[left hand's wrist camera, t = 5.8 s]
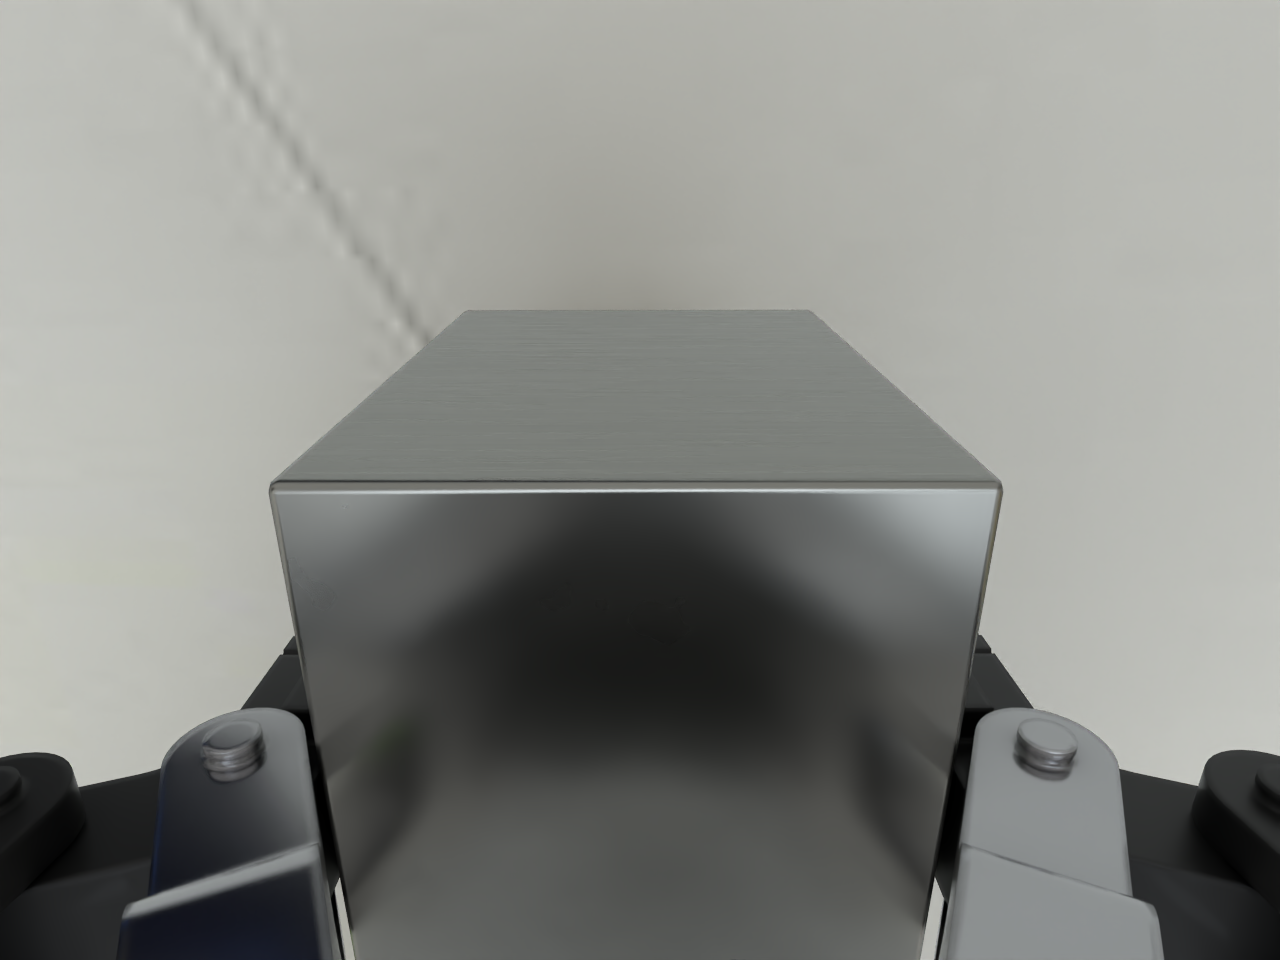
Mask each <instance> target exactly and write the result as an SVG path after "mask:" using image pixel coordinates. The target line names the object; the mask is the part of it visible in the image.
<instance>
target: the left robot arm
mask: <svg viewBox="0 0 1280 960" xmlns="http://www.w3.org/2000/svg"><path fill="white" fill-rule="evenodd" d="M339 877H340V875H339V869H338V864H337V858H336V853H335V848H334V842H333V837H332V831H331V826H330V821H329V815H328V810H327V805H326V799H325V794H324V788H323V783H322V778H321V772H320V767H319V761H318V756H317V751H316V745H315V740H314V734H313V729H312V724H311V718H310V713H309V707H308V702H307V697H306V691H305V686H304V680H303V675H302V670H301V664H300V659H299V654H298V648H297V643H296V637H295V636H293V638H292V639H291V640H290V642H289V643H288V645H287V646H286V647H285V649H284V653H283V655H280V656H279V657H278V658H277V660H276V661H275V663H274V664H273V665H272V667H271V668H270V669H269V671H268V672H267V674H266V675H265V676H264V678H263V679H262V680H261V682H260V683H259V685H258V686H257V687H256V689H255V690H254V692H253V693H252V694H251V696H250V697H249V698H248V700H247V701H246V703H245V704H244V705H243V707H242V708H241V710H238V711H234V712H230V713H227V714H224V715H221V716H218V717H216V718H213V719H211V720H209V721H206V722H204V723H202V724H200V725H199V726H197V727H195V728H194V729H192V730H190V731H189V732H188V733H186V734H185V735H184V736H182V737H181V738H180V739H179V740H178V741H177V742H176V743H175V744H174V745H173V746H172V747H171V748H170V750H169V751H168V752H167V754H166V755H165V757H164V759H163V762H162V766H161V768H160V769H157V770H154V771H151V772H147V773H143V774H139V775H134V776H129V777H125V778H120V779H115V780H111V781H106V782H101V783H97V784H92V785H87V786H83V787H78V785H77V782H76V779H75V776H74V773H73V770H72V767H71V765H70V764H69V762H68V761H67V760H65V759H64V758H63V757H60V756H58V755H55V754H50V753H38V752H34V753H22V754H16V755H10V756H6V757H2V758H0V960H346V955H345V948H344V942H343V935H342V929H341V922H340V915H339V910H338V905H337V899H336V894H335V887H336V884H337V882H338V880H339ZM935 878H936V880H937V883H938V885H939V888H940V890H941V892H942V895H943V897H944V899H943V905H942V910H941V915H940V922H939V929H938V935H937V942H936V948H935V955H934V960H1280V756H1277V755H1273V754H1269V753H1264V752H1258V751H1249V750H1230V751H1225V752H1221V753H1218V754H1216V755H1214V756H1212V757H1211V758H1210V759H1209V760H1208V761H1207V763H1206V765H1205V767H1204V770H1203V773H1202V776H1201V779H1200V783H1199V786H1194V785H1190V784H1185V783H1180V782H1176V781H1171V780H1166V779H1162V778H1157V777H1152V776H1147V775H1143V774H1138V773H1133V772H1130V771H1126V770H1122V769H1119V766H1118V762H1117V759H1116V757H1115V755H1114V754H1113V752H1112V751H1111V750H1110V748H1109V747H1108V746H1107V745H1106V744H1105V743H1104V742H1103V741H1102V740H1101V739H1100V738H1099V737H1098V736H1096V735H1095V734H1094V733H1092V732H1091V731H1090V730H1088V729H1086V728H1085V727H1083V726H1081V725H1080V724H1078V723H1076V722H1074V721H1071V720H1069V719H1067V718H1064V717H1062V716H1059V715H1056V714H1053V713H1050V712H1046V711H1042V710H1037V709H1034V708H1033V707H1032V705H1031V704H1030V703H1029V701H1028V700H1027V698H1026V697H1025V696H1024V694H1023V693H1022V691H1021V690H1020V689H1019V687H1018V686H1017V684H1016V683H1015V682H1014V680H1013V679H1012V677H1011V676H1010V675H1009V673H1008V672H1007V670H1006V669H1005V668H1004V666H1003V665H1002V663H1001V662H1000V661H999V659H998V658H997V656H996V655H995V654H992V653H991V648H990V647H989V645H988V644H987V642H986V641H985V640H984V638H983V637H982V635H978V636H977V642H976V647H975V653H974V658H973V664H972V670H971V675H970V681H969V687H968V692H967V698H966V703H965V709H964V715H963V720H962V726H961V732H960V737H959V743H958V748H957V754H956V760H955V765H954V771H953V777H952V782H951V788H950V793H949V799H948V805H947V810H946V816H945V822H944V827H943V833H942V838H941V844H940V850H939V855H938V861H937V866H936V872H935Z"/></svg>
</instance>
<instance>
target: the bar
mask: <svg viewBox="0 0 1280 960" xmlns="http://www.w3.org/2000/svg"><path fill="white" fill-rule="evenodd" d="M1002 495H1003V487H1002V484H1001V481H1000V480H999V479H998V478H997V477H996V476H995V475H993V474H992V473H991V472H990V471H989V470H988V469H987V468H986V467H984V466H983V465H982V464H981V463H980V462H979V461H978V460H977V459H976V458H974V457H973V456H972V455H971V454H970V453H969V452H968V451H967V450H966V449H964V448H963V447H962V446H961V445H960V444H959V443H958V442H957V441H956V440H954V439H953V438H952V437H951V436H950V435H949V434H948V433H947V432H946V431H944V430H943V429H942V428H941V427H940V426H939V425H938V424H937V423H935V422H934V421H933V420H932V419H931V418H930V417H929V416H928V415H927V414H925V413H924V412H923V411H922V410H921V409H920V408H919V407H918V406H917V405H915V404H914V403H913V402H912V401H911V400H910V399H909V398H908V397H907V396H905V395H904V394H903V393H902V392H901V391H900V390H899V389H898V388H897V387H895V386H894V385H893V384H892V383H891V382H890V381H889V380H888V379H886V378H885V377H884V376H883V375H882V374H881V373H880V372H879V371H878V370H876V369H875V368H874V367H873V366H872V365H871V364H870V363H869V362H868V361H866V360H865V359H864V358H863V357H862V356H861V355H860V354H859V353H858V352H856V351H855V350H854V349H853V348H852V347H851V346H850V345H849V344H848V343H846V342H845V341H844V340H843V339H842V338H841V337H840V336H839V335H837V334H836V333H835V332H834V331H833V330H832V329H831V328H830V327H829V326H827V325H826V324H825V323H824V322H823V321H822V320H821V319H820V318H819V317H817V316H816V315H815V314H814V313H813V312H812V311H809V310H468V311H466V312H464V313H463V314H462V315H460V316H459V317H458V318H457V319H456V320H455V321H454V322H453V323H451V324H450V325H449V326H448V327H447V328H446V329H445V330H443V331H442V332H441V333H440V334H439V335H438V336H437V337H435V338H434V339H433V340H432V341H431V342H430V343H429V344H428V345H426V346H425V347H424V348H423V349H422V350H421V351H420V352H418V353H417V354H416V355H415V356H414V357H413V358H412V359H410V360H409V361H408V362H407V363H406V364H405V365H404V366H403V367H401V368H400V369H399V370H398V371H397V372H396V373H395V374H393V375H392V376H391V377H390V378H389V379H388V380H387V381H385V382H384V383H383V384H382V385H381V386H380V387H379V388H378V389H376V390H375V391H374V392H373V393H372V394H371V395H370V396H368V397H367V398H366V399H365V400H364V401H363V402H362V403H360V404H359V405H358V406H357V407H356V408H355V409H354V410H353V411H351V412H350V413H349V414H348V415H347V416H346V417H345V418H343V419H342V420H341V421H340V422H339V423H338V424H337V425H335V426H334V427H333V428H332V429H331V430H330V431H329V432H328V433H326V434H325V435H324V436H323V437H322V438H321V439H320V440H318V441H317V442H316V443H315V444H314V445H313V446H312V447H310V448H309V449H308V450H307V451H306V452H305V453H304V454H303V455H301V456H300V457H299V458H298V459H297V460H296V461H295V462H293V463H292V464H291V465H290V466H289V467H288V468H287V469H285V470H284V471H283V472H282V473H281V474H280V475H279V476H278V477H276V478H275V479H274V480H273V481H272V482H271V484H270V488H269V497H270V503H271V508H272V513H273V519H274V524H275V529H276V535H277V540H278V546H279V551H280V556H281V562H282V567H283V573H284V578H285V583H286V589H287V594H288V600H289V605H290V610H291V616H292V621H293V627H294V632H295V637H296V643H297V648H298V654H299V659H300V664H301V670H302V675H303V680H304V686H305V691H306V697H307V702H308V707H309V713H310V718H311V724H312V729H313V734H314V740H315V745H316V751H317V756H318V761H319V767H320V772H321V778H322V783H323V788H324V794H325V799H326V805H327V810H328V815H329V821H330V826H331V831H332V837H333V842H334V848H335V853H336V858H337V864H338V869H339V875H340V880H341V885H342V891H343V896H344V902H345V907H346V912H347V918H348V923H349V929H350V934H351V939H352V945H353V950H354V955H355V960H920V956H921V951H922V945H923V940H924V934H925V928H926V923H927V917H928V911H929V906H930V900H931V895H932V889H933V883H934V878H935V872H936V866H937V861H938V855H939V850H940V844H941V838H942V833H943V827H944V822H945V816H946V810H947V805H948V799H949V793H950V788H951V782H952V777H953V771H954V765H955V760H956V754H957V748H958V743H959V737H960V732H961V726H962V720H963V715H964V709H965V703H966V698H967V692H968V687H969V681H970V675H971V670H972V664H973V658H974V653H975V647H976V642H977V636H978V630H979V625H980V619H981V613H982V608H983V602H984V597H985V591H986V585H987V580H988V574H989V568H990V563H991V557H992V552H993V546H994V540H995V535H996V529H997V524H998V518H999V512H1000V507H1001V501H1002Z"/></svg>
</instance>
